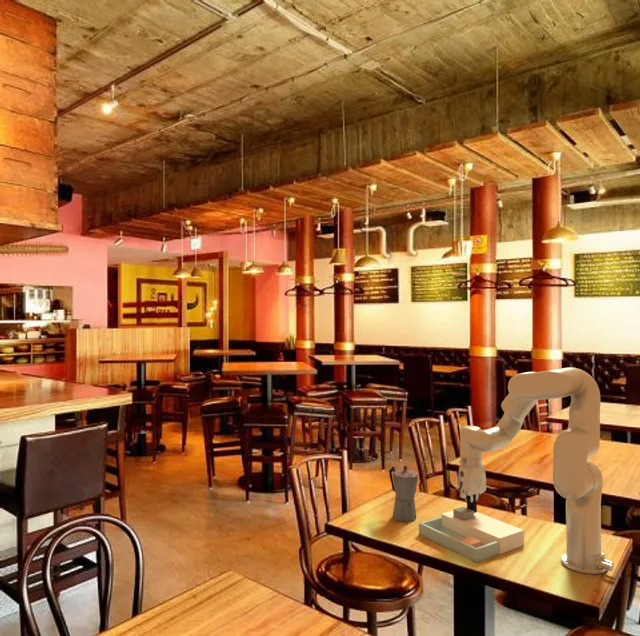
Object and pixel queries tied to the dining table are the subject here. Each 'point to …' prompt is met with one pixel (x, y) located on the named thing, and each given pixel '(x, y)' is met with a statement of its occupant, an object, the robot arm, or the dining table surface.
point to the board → (485, 530)
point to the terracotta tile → (471, 541)
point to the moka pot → (404, 493)
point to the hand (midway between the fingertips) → (471, 511)
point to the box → (456, 541)
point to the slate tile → (463, 513)
